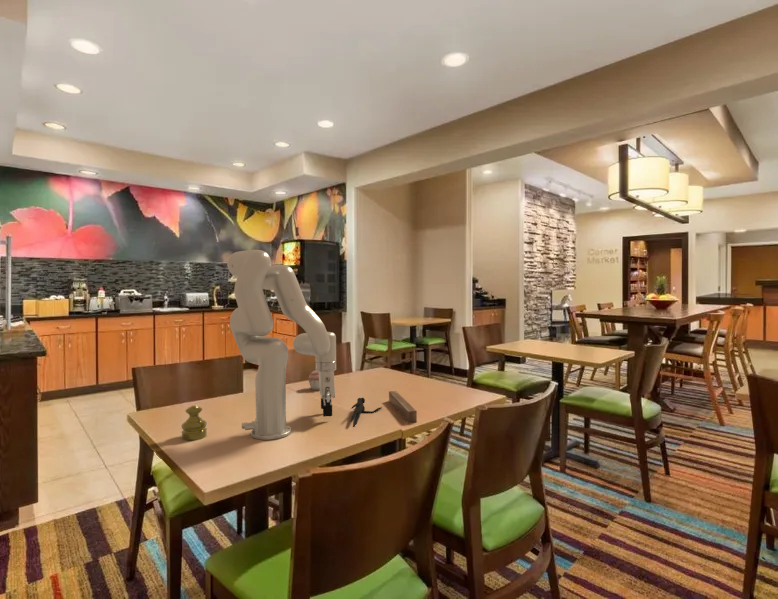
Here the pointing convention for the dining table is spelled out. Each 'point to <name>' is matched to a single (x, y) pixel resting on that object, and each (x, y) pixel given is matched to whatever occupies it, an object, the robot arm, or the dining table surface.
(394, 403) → the rail
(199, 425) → the olive green tapered piece
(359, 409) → the dark humanoid figurine
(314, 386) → the cupcake
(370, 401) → the dining table surface
